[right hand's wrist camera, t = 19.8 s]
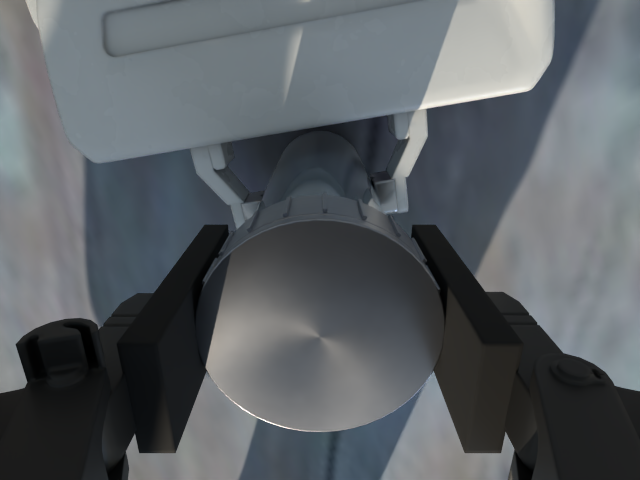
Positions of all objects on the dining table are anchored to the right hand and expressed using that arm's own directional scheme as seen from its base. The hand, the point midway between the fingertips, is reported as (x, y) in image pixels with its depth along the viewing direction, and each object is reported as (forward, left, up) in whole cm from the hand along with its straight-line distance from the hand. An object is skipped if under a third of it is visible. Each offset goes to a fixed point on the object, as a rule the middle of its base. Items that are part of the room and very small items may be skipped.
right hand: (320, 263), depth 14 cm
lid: (0, 0, +4) cm, 4 cm away
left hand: (0, -1, -7) cm, 7 cm away
